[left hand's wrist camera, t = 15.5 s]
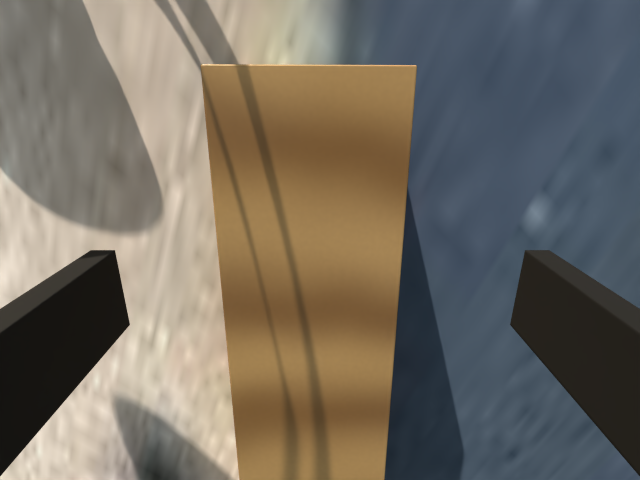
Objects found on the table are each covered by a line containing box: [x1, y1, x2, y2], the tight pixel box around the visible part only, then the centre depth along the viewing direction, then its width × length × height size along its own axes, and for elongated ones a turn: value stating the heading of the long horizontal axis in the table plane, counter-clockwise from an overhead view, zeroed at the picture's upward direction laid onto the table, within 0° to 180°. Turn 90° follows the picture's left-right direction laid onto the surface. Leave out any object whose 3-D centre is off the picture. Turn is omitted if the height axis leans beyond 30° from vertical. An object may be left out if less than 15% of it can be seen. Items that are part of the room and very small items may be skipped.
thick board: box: [201, 64, 417, 480], centre depth 27 cm, size 53×9×7 cm, turn 0°
